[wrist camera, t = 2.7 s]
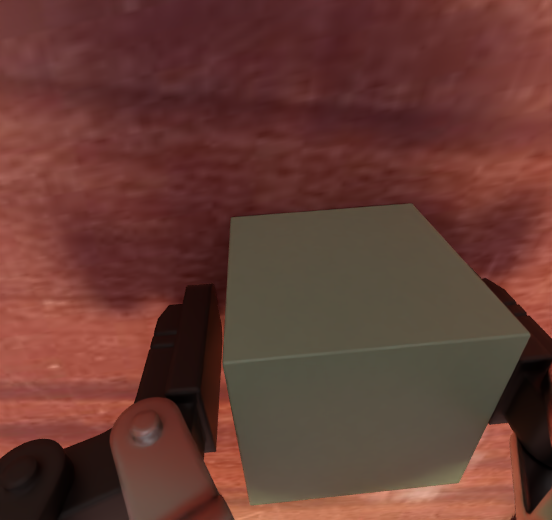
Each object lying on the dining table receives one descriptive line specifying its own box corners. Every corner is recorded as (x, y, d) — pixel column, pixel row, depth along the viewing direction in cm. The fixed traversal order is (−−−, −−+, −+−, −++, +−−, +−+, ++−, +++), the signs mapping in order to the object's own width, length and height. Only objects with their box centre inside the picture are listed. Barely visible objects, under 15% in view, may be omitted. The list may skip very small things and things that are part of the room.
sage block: (230, 216, 10) (221, 363, 6) (411, 202, 10) (532, 334, 6) (247, 345, 13) (250, 506, 8) (389, 332, 13) (459, 483, 9)
